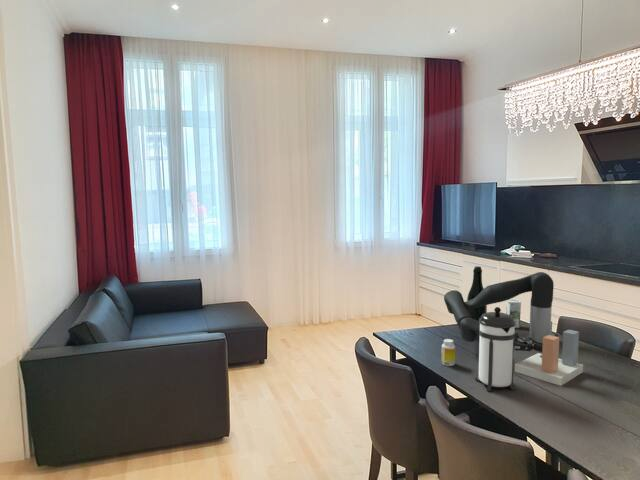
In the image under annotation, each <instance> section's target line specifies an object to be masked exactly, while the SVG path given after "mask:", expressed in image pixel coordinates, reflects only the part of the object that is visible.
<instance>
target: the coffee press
mask: <svg viewBox="0 0 640 480" xmlns="http://www.w3.org/2000/svg"><path fill="white" fill-rule="evenodd" d="M501 311H502V309H501V308H500V307H499V306H497V307H496V306H495V308H494V310H493V311H489V312H488V311H487V313H485V314H483V315H482V316H481V318H480V319H479V323H480V328H479V337H478V339H479V340H478V371H477V372H478V373H477V376H476V377H474V380H475V382H479V381H480V382H482V383H483V384H485V385H487V386H486V391H487V392H492V391H493V387H494V388H505V387H509V388H510V390H511V391H515V390H517V386H516V384H515V382H514V372H515V349H514V346H515V333H516V331H515V329H516V328H515V326H516V322H515V321H514V318H513V317H512V316H510V315H508V314H506V313H504V312H501ZM477 378H478V379H477Z"/></svg>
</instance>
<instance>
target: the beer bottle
mask: <svg viewBox="0 0 640 480" xmlns="http://www.w3.org/2000/svg"><path fill="white" fill-rule="evenodd" d="M472 272H473V275H472V277H473V278H472V284H471V287H470V289H469V291H468V294H467V297H466V298H467V299H466V301H469V300H472V299H473V298H475V297H476V296H477V295H478V294H479V293H480V292H481V291H482V290H483V289H484V288H485V287H484V286H483V277H482V275H483V274H482V273H483V269H482V266H478V265H477V266H476V265H475V266H474V268H473V271H472ZM487 306H488V305H485V306H481V307H477V308H474V309H471V310H468V313H469V315H470V316H471V318H472V319H475V320H477V321H479V319H480V318H481V316H482V315H483V314H485V313H488V311H487V310H488V307H487Z"/></svg>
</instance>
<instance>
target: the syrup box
mask: <svg viewBox="0 0 640 480" xmlns="http://www.w3.org/2000/svg"><path fill="white" fill-rule="evenodd" d="M505 308H506V313H505V314H508V315H510V316H512V317H513V318H514V321H515V322H516V326H515V329H521V328H520V327H521V314H522V313H521V308H522V302H521V301H520V300H519V299H509V300H506V307H505Z"/></svg>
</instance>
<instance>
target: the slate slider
mask: <svg viewBox="0 0 640 480" xmlns="http://www.w3.org/2000/svg"><path fill="white" fill-rule="evenodd" d="M579 336H580V332H579V331H577V330H573V329H567V330H565V331H562V351H561V359H562V364H566V365H570V366H573V365H575V364H577V363H578V364H579V362H578V358H579V341H580V339H579V338H580V337H579Z"/></svg>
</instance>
